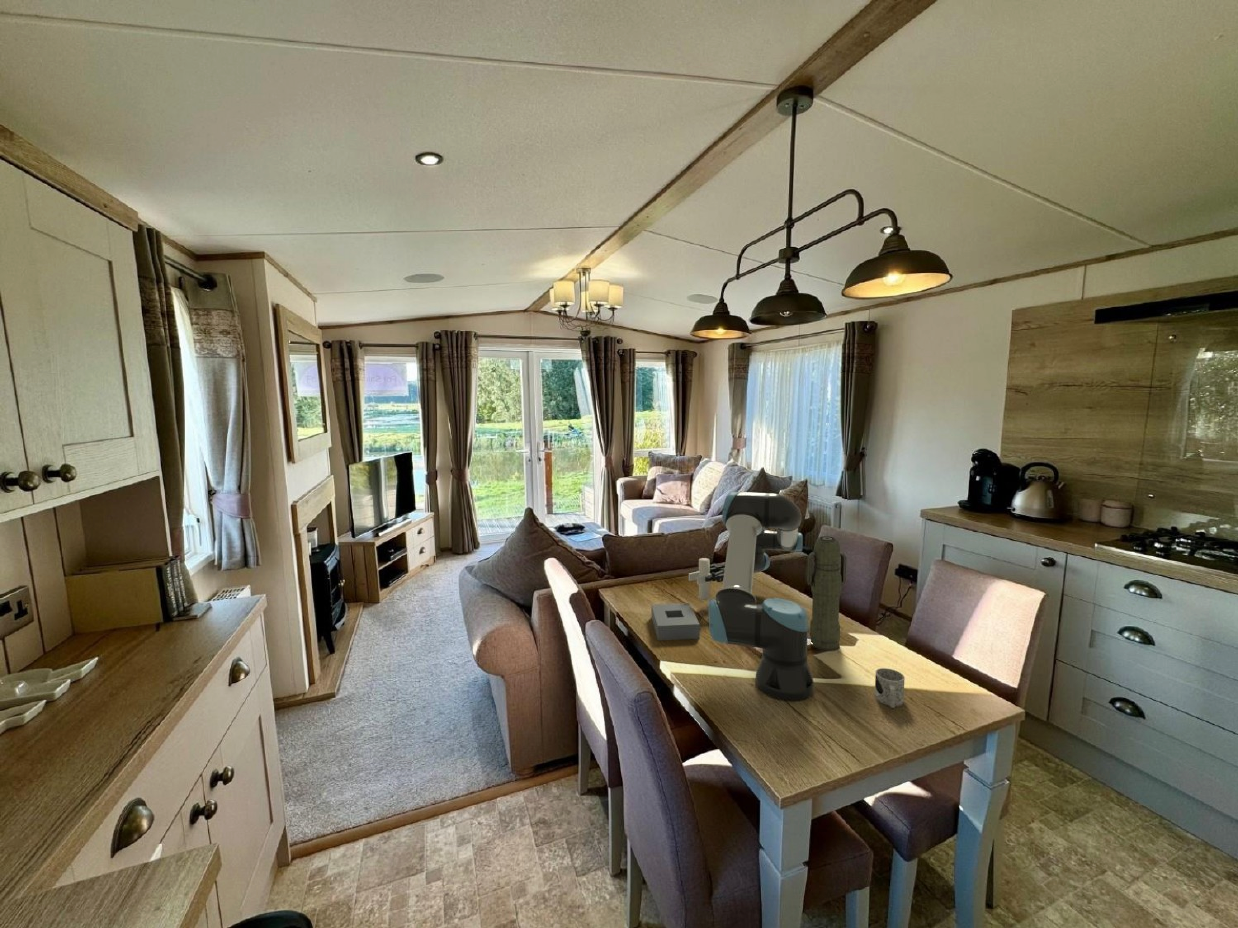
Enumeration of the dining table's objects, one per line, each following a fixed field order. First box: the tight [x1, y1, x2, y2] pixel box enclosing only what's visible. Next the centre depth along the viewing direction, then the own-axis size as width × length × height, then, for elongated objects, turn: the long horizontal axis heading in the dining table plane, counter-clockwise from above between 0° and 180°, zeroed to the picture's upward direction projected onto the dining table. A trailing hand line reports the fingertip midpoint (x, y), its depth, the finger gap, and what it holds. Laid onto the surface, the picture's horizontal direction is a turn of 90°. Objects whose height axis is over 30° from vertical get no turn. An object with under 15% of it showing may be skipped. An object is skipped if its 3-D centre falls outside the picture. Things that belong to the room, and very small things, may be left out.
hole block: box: [650, 602, 701, 641], centre depth 175 cm, size 18×14×5 cm
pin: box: [698, 557, 711, 601], centre depth 189 cm, size 4×4×15 cm
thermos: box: [806, 535, 847, 652], centre depth 159 cm, size 9×12×35 cm
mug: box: [874, 667, 905, 709], centre depth 129 cm, size 10×7×7 cm
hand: (693, 578), depth 186 cm, fingers closed on pin, 4 cm apart
